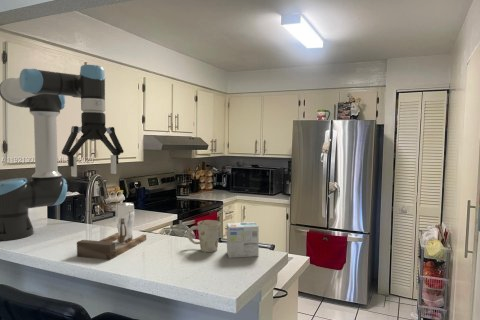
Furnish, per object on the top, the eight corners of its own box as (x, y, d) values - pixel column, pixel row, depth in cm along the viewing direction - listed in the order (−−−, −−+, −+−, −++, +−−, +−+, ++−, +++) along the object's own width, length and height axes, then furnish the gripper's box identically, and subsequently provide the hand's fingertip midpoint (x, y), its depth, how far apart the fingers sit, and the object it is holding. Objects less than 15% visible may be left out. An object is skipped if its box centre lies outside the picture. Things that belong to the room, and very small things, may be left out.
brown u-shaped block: (117, 237, 145) (117, 225, 145) (146, 239, 142) (146, 227, 141) (77, 256, 122) (76, 242, 121) (110, 259, 119) (110, 245, 118)
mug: (216, 254, 125) (217, 226, 124) (183, 251, 127) (183, 224, 127) (222, 247, 133) (222, 220, 132) (190, 244, 136) (190, 219, 135)
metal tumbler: (133, 244, 136) (132, 205, 135) (114, 244, 135) (113, 205, 134) (135, 238, 143) (135, 202, 142) (117, 239, 142) (117, 202, 141)
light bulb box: (255, 250, 129) (255, 221, 128) (259, 256, 122) (259, 225, 122) (226, 252, 127) (226, 222, 127) (228, 258, 121) (228, 227, 120)
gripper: (58, 109, 108) (60, 178, 109) (132, 113, 126) (133, 173, 127) (49, 110, 113) (51, 176, 114) (122, 114, 131) (123, 171, 132)
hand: (94, 175), depth 121 cm, fingers open, 13 cm apart
